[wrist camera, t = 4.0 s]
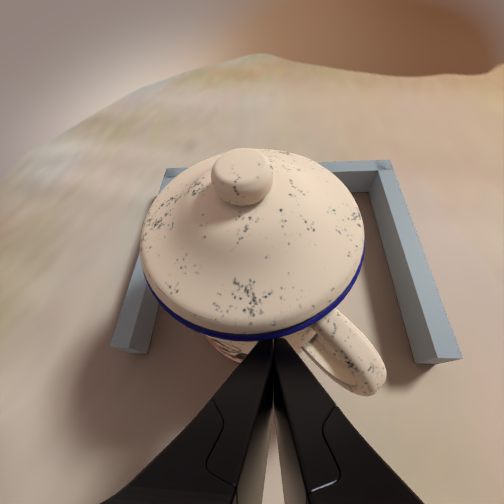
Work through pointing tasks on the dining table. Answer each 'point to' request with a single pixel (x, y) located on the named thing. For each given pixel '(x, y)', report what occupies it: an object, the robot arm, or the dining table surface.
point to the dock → (396, 250)
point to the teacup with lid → (262, 259)
